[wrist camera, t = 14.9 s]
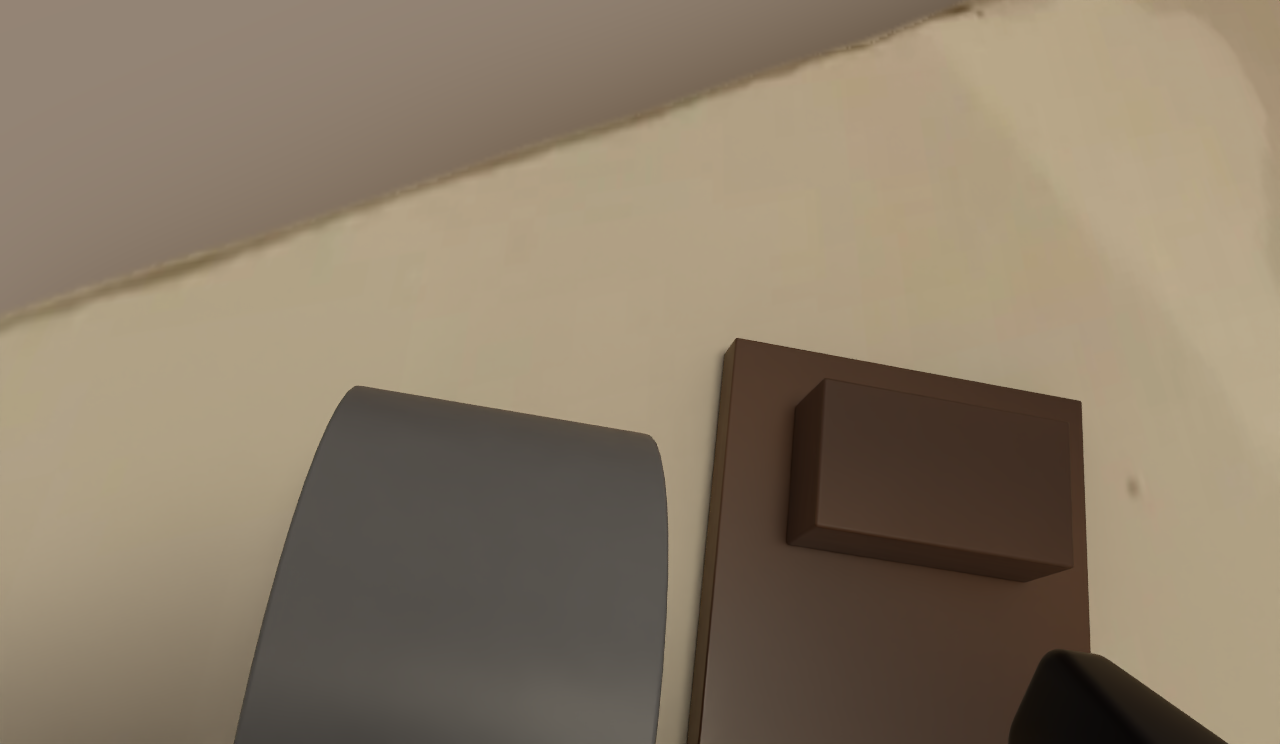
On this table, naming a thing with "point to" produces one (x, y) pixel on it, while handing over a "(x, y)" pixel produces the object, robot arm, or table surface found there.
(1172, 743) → the robot arm
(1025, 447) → the holder
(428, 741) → the tape roll
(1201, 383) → the table surface
